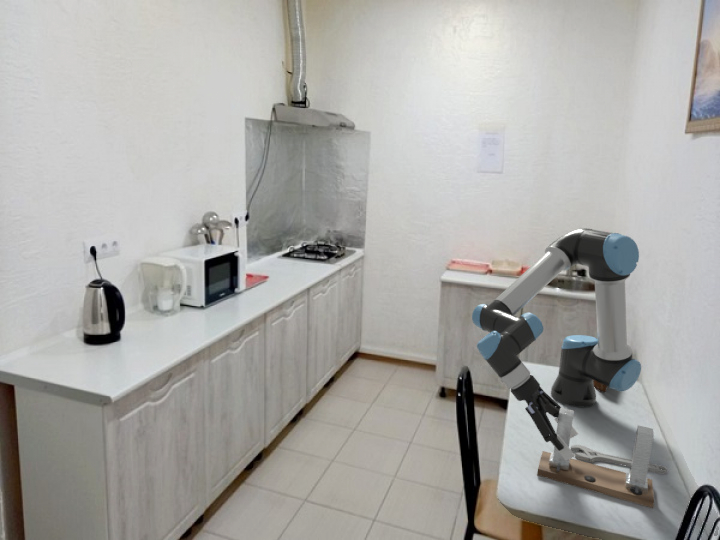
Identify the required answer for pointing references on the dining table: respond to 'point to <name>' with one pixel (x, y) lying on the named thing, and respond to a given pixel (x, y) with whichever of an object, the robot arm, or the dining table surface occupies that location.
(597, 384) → the food container
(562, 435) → the block
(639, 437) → the fixed leg
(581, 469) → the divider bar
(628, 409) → the dining table surface
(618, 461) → the adjustable wrench
